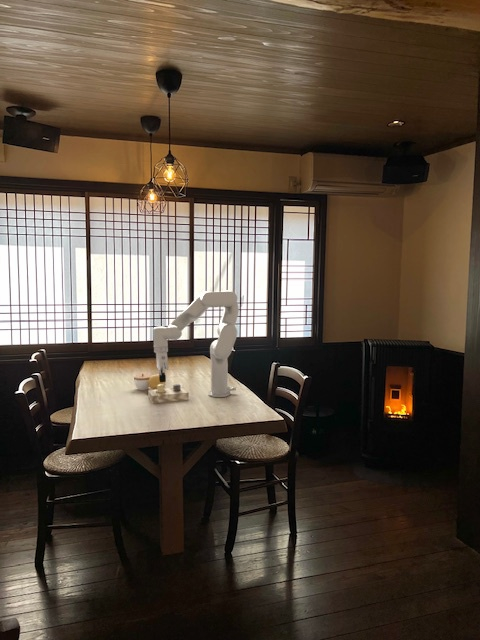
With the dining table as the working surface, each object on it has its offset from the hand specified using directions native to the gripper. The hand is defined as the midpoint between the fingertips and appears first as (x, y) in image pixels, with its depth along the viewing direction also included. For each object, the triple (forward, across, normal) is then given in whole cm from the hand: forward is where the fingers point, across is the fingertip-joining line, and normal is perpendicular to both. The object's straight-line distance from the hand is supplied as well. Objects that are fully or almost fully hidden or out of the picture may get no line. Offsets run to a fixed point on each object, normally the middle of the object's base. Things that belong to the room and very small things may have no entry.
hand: (162, 381), depth 261 cm
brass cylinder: (+10, 0, +1) cm, 10 cm away
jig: (+10, 0, -3) cm, 10 cm away
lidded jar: (+10, +26, +7) cm, 29 cm away
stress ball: (+10, +18, 0) cm, 20 cm away
